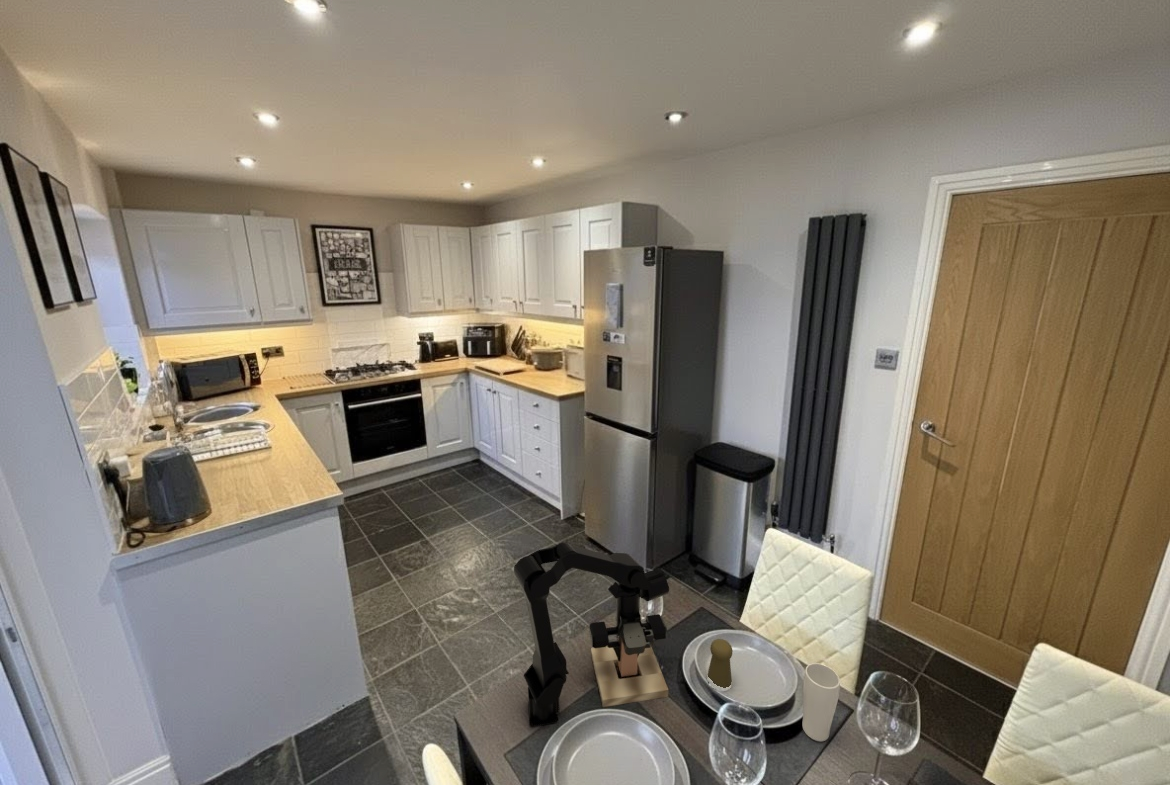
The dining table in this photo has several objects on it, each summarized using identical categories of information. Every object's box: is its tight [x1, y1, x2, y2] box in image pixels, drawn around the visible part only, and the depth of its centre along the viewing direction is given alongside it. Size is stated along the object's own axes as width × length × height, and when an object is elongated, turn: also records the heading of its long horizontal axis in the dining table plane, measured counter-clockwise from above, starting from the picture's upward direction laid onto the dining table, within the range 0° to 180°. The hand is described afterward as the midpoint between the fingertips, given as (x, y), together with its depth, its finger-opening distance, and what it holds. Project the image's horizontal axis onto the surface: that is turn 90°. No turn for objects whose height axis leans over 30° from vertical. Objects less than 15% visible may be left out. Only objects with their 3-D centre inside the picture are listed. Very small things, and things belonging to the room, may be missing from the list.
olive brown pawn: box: [707, 638, 733, 688], centre depth 113 cm, size 6×6×11 cm
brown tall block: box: [617, 637, 638, 678], centre depth 115 cm, size 4×4×10 cm
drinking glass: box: [802, 662, 841, 742], centre depth 100 cm, size 7×7×15 cm
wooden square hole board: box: [590, 646, 669, 708], centre depth 117 cm, size 16×16×2 cm
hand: (627, 658), depth 116 cm, fingers closed on brown tall block, 4 cm apart
